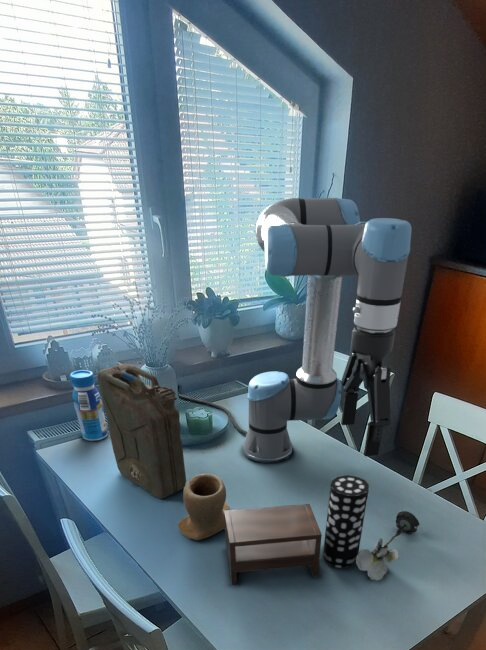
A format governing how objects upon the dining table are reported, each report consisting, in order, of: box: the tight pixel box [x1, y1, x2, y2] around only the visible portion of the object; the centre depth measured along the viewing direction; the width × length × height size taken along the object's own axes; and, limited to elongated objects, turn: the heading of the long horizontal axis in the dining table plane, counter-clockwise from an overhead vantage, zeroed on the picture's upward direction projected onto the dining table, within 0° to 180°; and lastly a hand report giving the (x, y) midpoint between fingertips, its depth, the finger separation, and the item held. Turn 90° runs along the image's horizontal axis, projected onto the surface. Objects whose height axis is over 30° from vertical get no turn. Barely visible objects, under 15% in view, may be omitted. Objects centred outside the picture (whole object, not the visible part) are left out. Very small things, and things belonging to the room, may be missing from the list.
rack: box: [224, 503, 323, 585], centre depth 118 cm, size 12×20×12 cm, turn 100°
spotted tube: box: [322, 474, 370, 569], centre depth 118 cm, size 8×8×20 cm
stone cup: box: [177, 473, 231, 541], centre depth 127 cm, size 15×12×15 cm
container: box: [97, 363, 187, 499], centre depth 138 cm, size 23×10×30 cm, turn 47°
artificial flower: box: [355, 510, 420, 581], centre depth 123 cm, size 9×22×10 cm, turn 141°
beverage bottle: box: [69, 369, 109, 442], centre depth 161 cm, size 8×8×20 cm
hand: (358, 438), depth 105 cm, fingers open, 13 cm apart
